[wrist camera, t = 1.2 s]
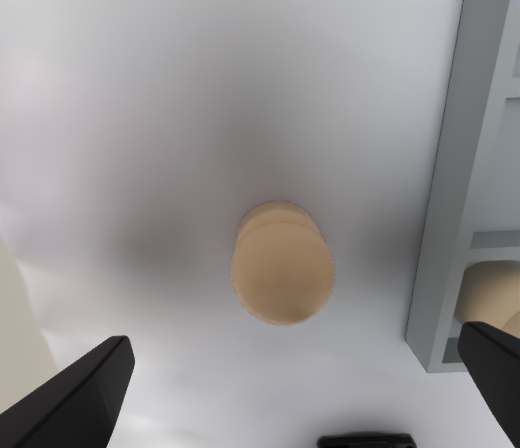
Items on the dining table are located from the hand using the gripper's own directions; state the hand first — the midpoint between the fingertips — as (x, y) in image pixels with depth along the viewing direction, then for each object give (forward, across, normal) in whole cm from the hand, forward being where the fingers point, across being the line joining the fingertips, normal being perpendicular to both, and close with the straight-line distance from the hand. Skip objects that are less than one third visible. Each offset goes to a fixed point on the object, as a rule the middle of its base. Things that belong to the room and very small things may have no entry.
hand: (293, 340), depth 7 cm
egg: (+6, 0, 0) cm, 7 cm away
